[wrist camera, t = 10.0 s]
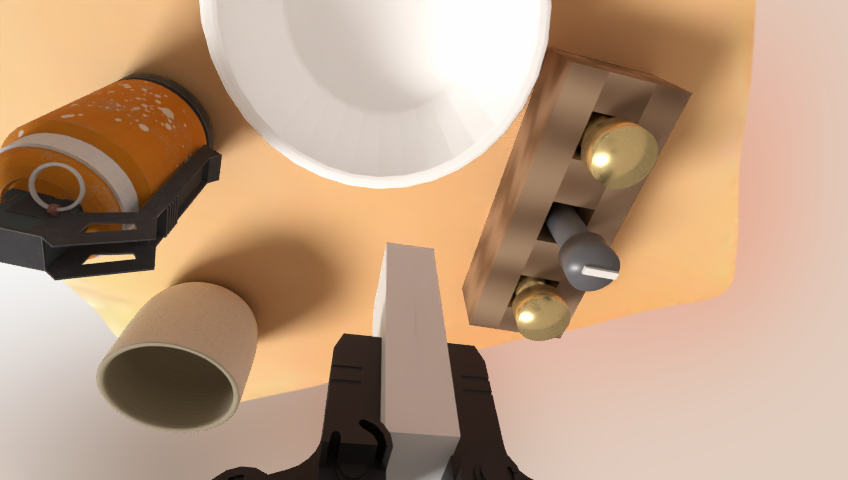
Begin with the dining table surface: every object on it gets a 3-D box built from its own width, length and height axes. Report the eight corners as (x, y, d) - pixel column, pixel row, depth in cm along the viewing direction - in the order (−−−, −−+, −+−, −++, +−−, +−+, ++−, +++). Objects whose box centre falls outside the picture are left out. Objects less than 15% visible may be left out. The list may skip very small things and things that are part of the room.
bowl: (229, 118, 40) (194, 154, 33) (245, -222, 29) (198, -278, 22) (472, 173, 45) (486, 215, 37) (568, -107, 33) (615, -122, 26)
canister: (105, 57, 37) (-136, 145, 20) (246, 99, 40) (135, 210, 23) (107, 157, 42) (-90, 298, 25) (233, 189, 44) (133, 339, 27)
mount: (548, 47, 39) (572, 61, 34) (654, 75, 40) (691, 93, 35) (462, 288, 52) (469, 324, 47) (544, 301, 53) (560, 338, 48)
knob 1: (506, 239, 48) (528, 297, 40) (548, 247, 49) (579, 305, 41) (492, 276, 50) (510, 337, 43) (532, 283, 51) (558, 344, 43)
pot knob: (545, 188, 42) (582, 246, 34) (585, 197, 42) (630, 256, 34) (529, 226, 44) (560, 289, 36) (567, 233, 44) (607, 297, 36)
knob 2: (566, 86, 40) (610, 120, 32) (616, 99, 41) (670, 135, 33) (546, 139, 42) (581, 182, 34) (593, 149, 43) (638, 194, 35)
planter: (132, 272, 48) (70, 347, 39) (251, 263, 48) (218, 337, 39) (173, 356, 55) (128, 438, 46) (277, 348, 55) (253, 428, 46)
